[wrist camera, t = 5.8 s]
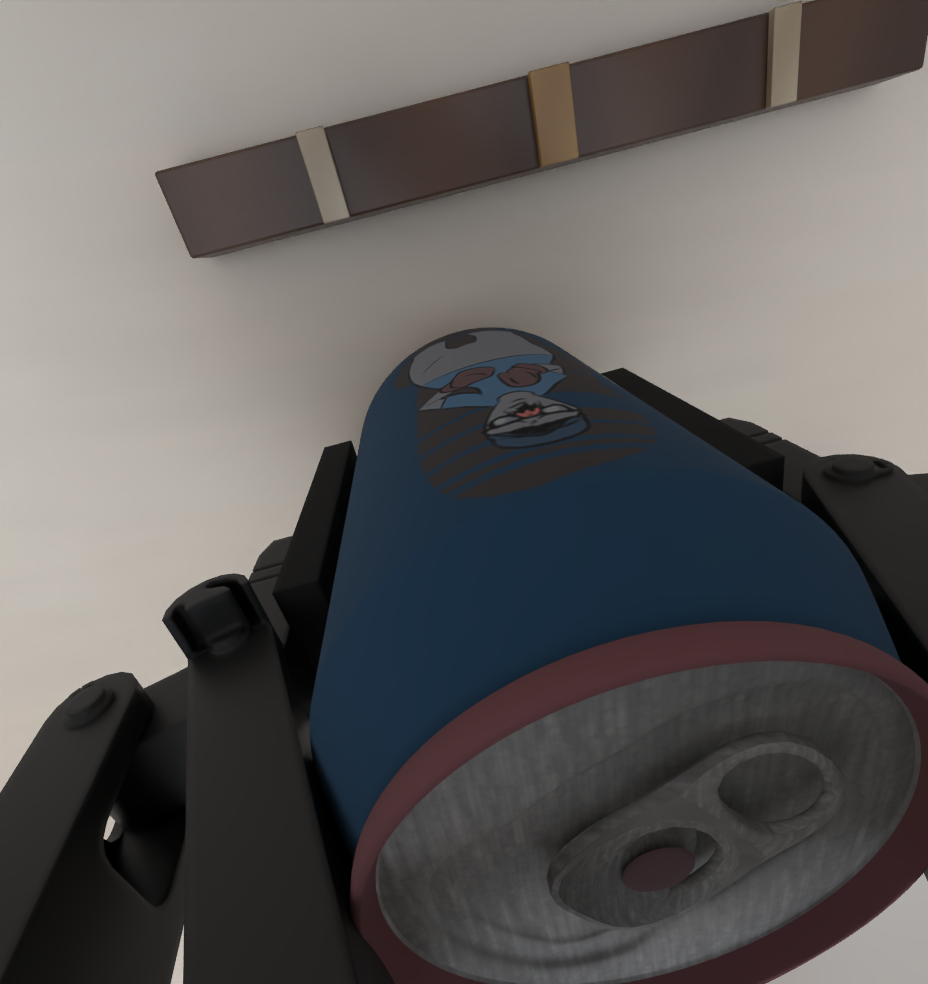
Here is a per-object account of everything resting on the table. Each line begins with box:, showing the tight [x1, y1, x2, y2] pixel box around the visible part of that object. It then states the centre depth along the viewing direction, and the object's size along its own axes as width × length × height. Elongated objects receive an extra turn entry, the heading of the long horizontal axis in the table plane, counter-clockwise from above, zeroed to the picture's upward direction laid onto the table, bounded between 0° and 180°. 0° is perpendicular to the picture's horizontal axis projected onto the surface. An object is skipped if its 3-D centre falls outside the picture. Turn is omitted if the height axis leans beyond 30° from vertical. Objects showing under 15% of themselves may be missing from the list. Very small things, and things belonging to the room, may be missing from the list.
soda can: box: [309, 328, 928, 984], centre depth 10 cm, size 7×7×12 cm
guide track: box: [155, 0, 928, 258], centre depth 17 cm, size 20×17×2 cm
